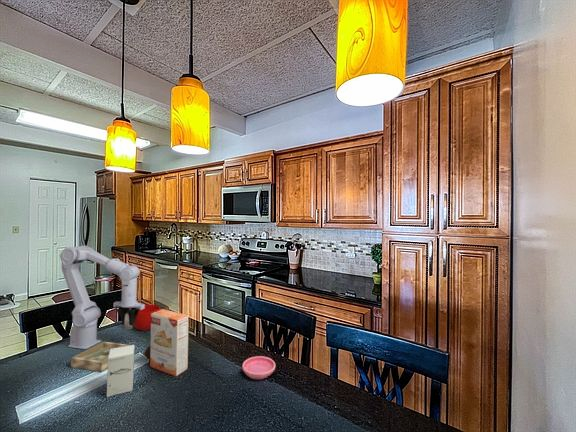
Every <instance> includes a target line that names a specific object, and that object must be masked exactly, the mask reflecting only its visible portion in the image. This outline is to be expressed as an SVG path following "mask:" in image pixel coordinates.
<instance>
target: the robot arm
mask: <svg viewBox="0 0 576 432" xmlns="http://www.w3.org/2000/svg"><path fill="white" fill-rule="evenodd" d="M59 258H60V261H61V271H62V274H63V276H64V279H65V282H66V284H67V285H66V286H67V287H68V290H69V292H70V295H71V299H72V301H73V304H74V306H75V307H74V308H73V310H72V311H71V316H72V323H73V326H72V327H71V329H70V335H69V336H70V337H69V345H68V346H67V348H73V349H81V350H88V349H90V348H92V347H94V346H96V345H98V344H100V343H101V342H102V340H101V339H97V337H98V335H97V334H98V330H97V329H98V320H99V318H100V317H101V314H102V312H101V309H100V307H98V306H97V303H96V302H95V301H92V300H90V296H89V294H88V291H87V287H86V285H85V282H84V279H83V277H82V274H81V272H80V266H81V265H82V264H83V263H84V262H85V261H86V260H90V261H91V262H95V263H96V264H99V265H101V266H104V267H105V270H106V271H107V272H109V273H112V274H114V275H116V276H118V277H119V279H120V280H121V301H115V302H113V308H117V307H118V308H117V309H116V312H117V314H118V315H119V317H120V320H121V324H122V325H124V318H125V312H128V315H129V324H130V325H133V326H134V323H135V320H136V317H137V314H138V313H139V311H140V310H142V309H144V308H145V305H146V304H145V303H141V302H138V301H137V294H138V293H137V291H138V289H137V287H138V276H139V275H140V273H141V272H140V268H139V267H138V266H137V265H135V264H134V265H133V264H132V265H130V264H129V263H126V262H123V261H122V260H121V259H119V258H109V257H108V256H105V255H103V254H101V253H99V252H98V251H96V250H94V249H93V247H89V246H88V245H85V244H84V245H79V246H72V247H69V246H68V247H65V248H64V249H63V250H62V251H61V253H60V254H59Z"/></svg>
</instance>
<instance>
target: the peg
mask: <svg viewBox="0 0 576 432" xmlns="http://www.w3.org/2000/svg"><path fill="white" fill-rule="evenodd" d="M133 327H134V324H133V325H130V324H129V315H128V312H125V318H124V327H123V328H124V331H127V330H128V331H129V330H132V329H133Z"/></svg>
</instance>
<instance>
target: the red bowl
mask: <svg viewBox="0 0 576 432" xmlns="http://www.w3.org/2000/svg"><path fill="white" fill-rule="evenodd" d="M160 310H161V307H160V305H158V304H145V308H144V309H142V310H140V311H139V313H138V314H137V317H136V320H135V323H134V324H133V327H135V328H136V329H137V330H138V331H141V330H143V331H144V332H145V331H149V330H151V313H154V312H156V311H160Z"/></svg>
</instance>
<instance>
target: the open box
mask: <svg viewBox="0 0 576 432" xmlns="http://www.w3.org/2000/svg"><path fill="white" fill-rule="evenodd" d="M129 345H130V344H124V343H118V342H109V341H101V342H99V343H97V344H95V345H93V346H91V347H89V348H87V349H85V350H84V351H82V352H80V353H78V354H77V355H74V356H72V357H71V358H70V368H72V369H77V370H78V369H80V370H84V369H85V370H84V371H90V370H91V372H96V371H97V372H98V373H104V372H105V371H106V370H108V357H109V352H110V349H112V348H118V347H124V346H129Z"/></svg>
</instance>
